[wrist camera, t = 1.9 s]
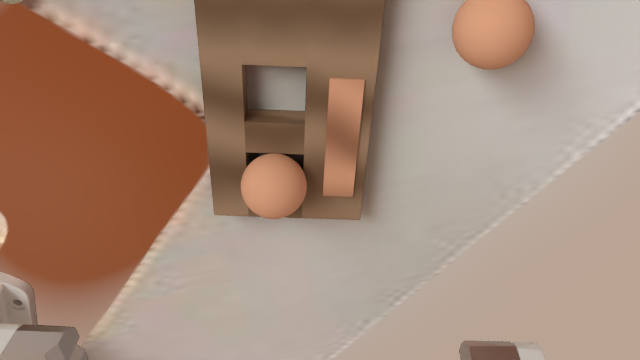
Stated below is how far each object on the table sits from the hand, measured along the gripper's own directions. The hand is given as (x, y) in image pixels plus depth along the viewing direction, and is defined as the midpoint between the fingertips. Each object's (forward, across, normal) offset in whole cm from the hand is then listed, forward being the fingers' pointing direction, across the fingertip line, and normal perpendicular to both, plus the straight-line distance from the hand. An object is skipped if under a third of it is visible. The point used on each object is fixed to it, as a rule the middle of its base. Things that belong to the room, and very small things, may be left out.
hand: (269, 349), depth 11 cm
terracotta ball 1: (+25, +3, +14) cm, 29 cm away
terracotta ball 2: (+26, -12, +2) cm, 28 cm away
